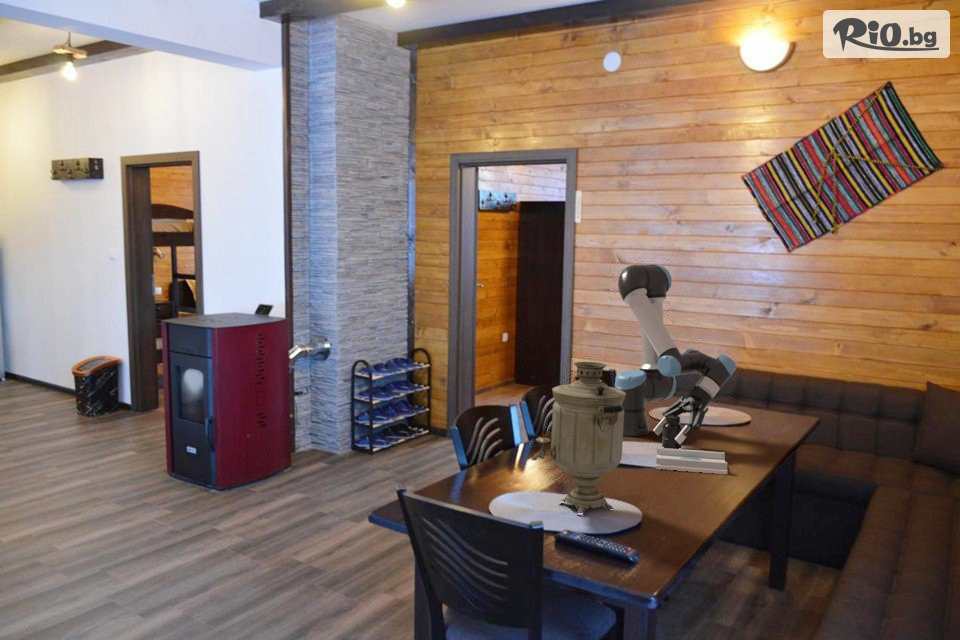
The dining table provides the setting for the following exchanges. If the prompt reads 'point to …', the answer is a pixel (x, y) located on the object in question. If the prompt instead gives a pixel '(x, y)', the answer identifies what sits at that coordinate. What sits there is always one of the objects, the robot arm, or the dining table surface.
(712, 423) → the dining table surface
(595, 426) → the samovar
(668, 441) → the supplement bottle
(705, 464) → the rail cradle
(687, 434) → the robot arm
